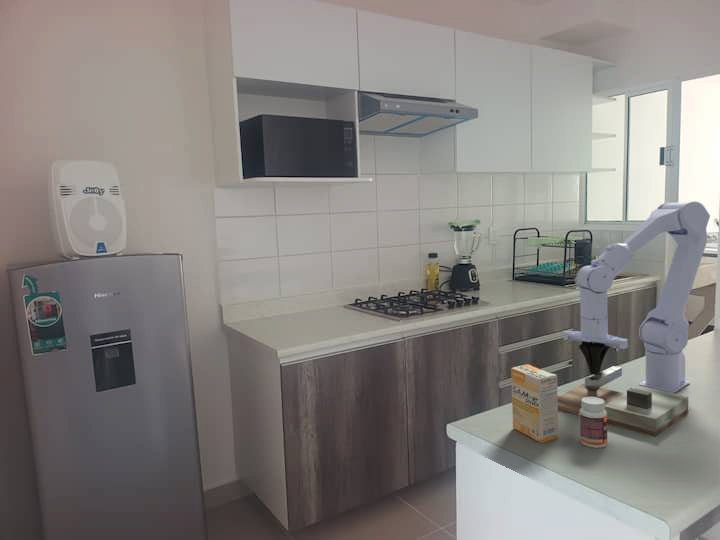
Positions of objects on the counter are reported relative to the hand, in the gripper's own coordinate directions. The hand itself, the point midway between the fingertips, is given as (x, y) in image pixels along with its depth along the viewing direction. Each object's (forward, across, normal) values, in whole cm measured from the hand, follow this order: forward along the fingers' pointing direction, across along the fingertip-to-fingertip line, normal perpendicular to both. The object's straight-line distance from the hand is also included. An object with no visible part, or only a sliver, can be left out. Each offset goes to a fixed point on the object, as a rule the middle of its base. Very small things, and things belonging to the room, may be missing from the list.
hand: (594, 373), depth 121 cm
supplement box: (+5, +2, -29) cm, 29 cm away
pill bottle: (+5, +12, -25) cm, 28 cm away
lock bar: (+1, +3, -2) cm, 4 cm away
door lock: (+5, +8, -7) cm, 11 cm away
